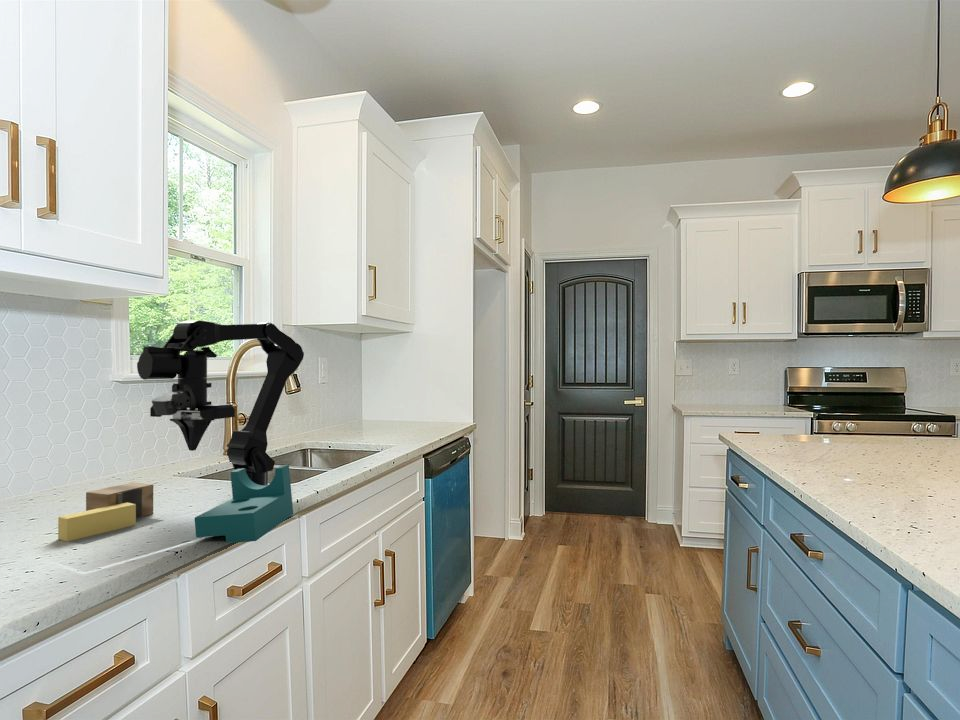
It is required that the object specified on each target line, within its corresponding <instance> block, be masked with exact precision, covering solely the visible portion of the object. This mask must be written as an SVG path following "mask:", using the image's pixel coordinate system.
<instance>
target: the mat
mask: <svg viewBox="0 0 960 720" xmlns="http://www.w3.org/2000/svg"><path fill="white" fill-rule="evenodd" d="M163 521H164V519H157V518H150V517H145V516H143V517H139V518H136V525H132V526H128V527H124V528H120V529H116V530H112V531H108V532H104V533H100V534H95V535H91V536H87V537H83V538H79V539H75V540H71V541H66V542H68V543H74V544H81V545H87V544H89V543H92V542H96V541H99V540H103V539H106V538H109V537H112V536H116V535H119V534H123V533H126V532H130V531H132V530H137V529H140V528H143V527H146V526H150V525H153V524H156V523H161V522H163ZM60 541H62V542H65V541H64V540H60Z"/></svg>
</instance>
